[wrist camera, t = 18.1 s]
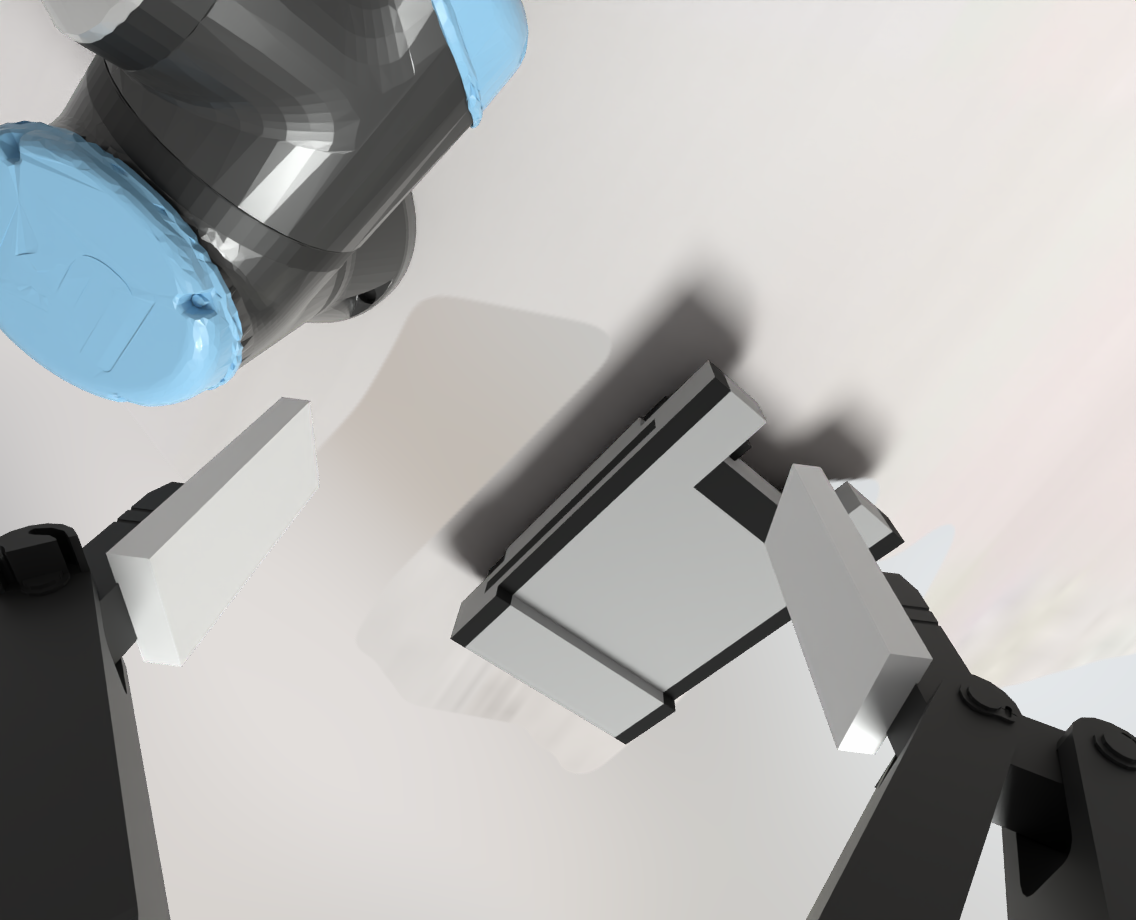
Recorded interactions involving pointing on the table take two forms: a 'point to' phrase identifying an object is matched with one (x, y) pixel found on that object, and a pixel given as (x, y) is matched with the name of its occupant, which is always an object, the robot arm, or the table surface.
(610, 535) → the game console
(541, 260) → the table surface
